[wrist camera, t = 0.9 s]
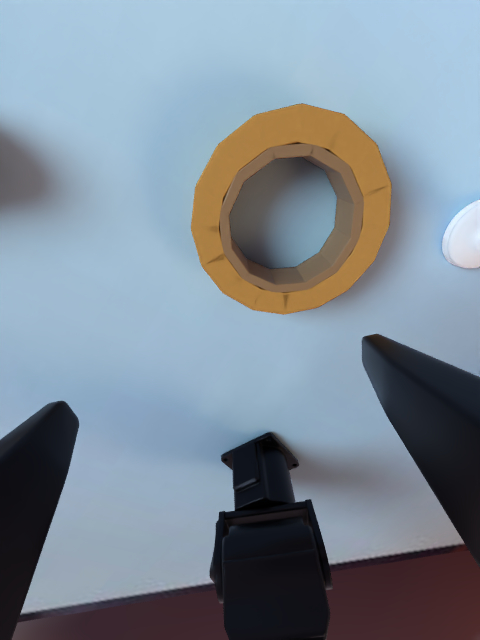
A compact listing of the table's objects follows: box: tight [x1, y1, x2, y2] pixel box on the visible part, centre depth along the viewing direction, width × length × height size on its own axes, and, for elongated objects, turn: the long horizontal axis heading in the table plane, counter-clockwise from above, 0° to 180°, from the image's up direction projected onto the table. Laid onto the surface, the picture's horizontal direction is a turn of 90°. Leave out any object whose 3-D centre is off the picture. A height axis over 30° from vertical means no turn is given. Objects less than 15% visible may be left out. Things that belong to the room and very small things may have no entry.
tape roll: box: [191, 104, 392, 314], centre depth 19 cm, size 12×12×3 cm
